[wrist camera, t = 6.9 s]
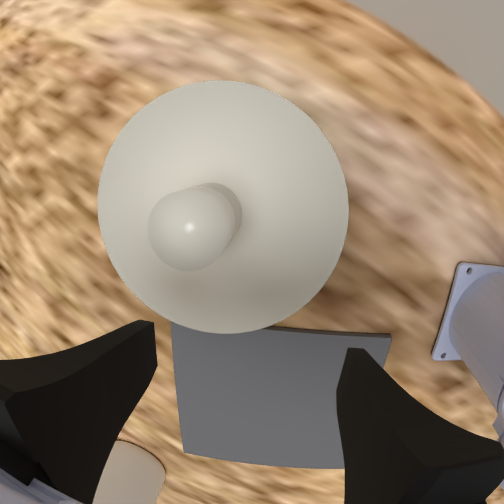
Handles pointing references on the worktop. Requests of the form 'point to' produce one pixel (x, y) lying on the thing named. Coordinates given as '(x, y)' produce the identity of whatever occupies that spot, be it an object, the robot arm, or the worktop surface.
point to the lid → (223, 207)
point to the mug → (130, 476)
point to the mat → (264, 393)
